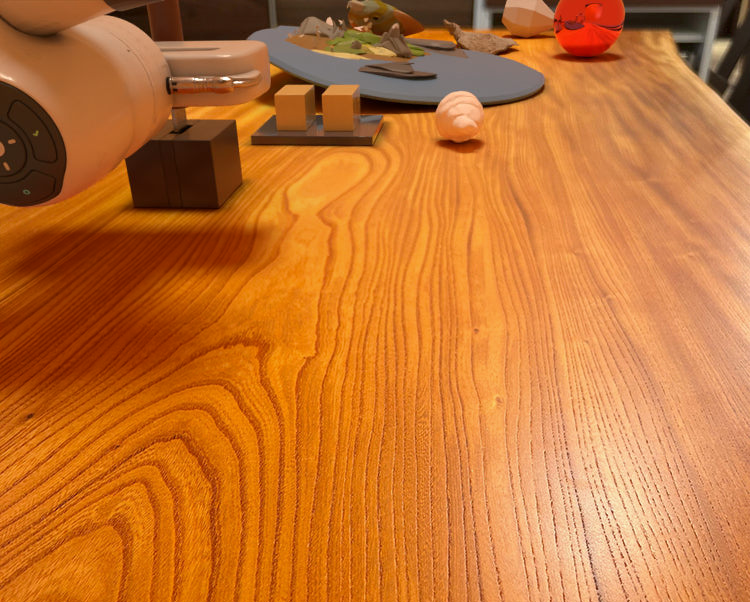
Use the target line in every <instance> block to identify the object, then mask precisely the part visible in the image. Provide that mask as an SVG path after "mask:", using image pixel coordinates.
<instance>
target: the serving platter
mask: <svg viewBox="0 0 750 602" xmlns="http://www.w3.org/2000/svg"><path fill="white" fill-rule="evenodd" d="M346 9H349V5H348V4H347V5H346ZM367 20H368V18H364V21H365V22H366V21H367ZM349 21H350V23H353V21H352V20H349V19H348V22H349ZM338 22H339V23H340V25H341V29H340V26H337V24H336V21H335V20H333V19H332V17H331V16H329V17H327V19H326V20H325V21H324V20H321V19H319V18H317V17H316V16H308V17H306V18H305V19H304V20H303V21H302V22H300V25H299V26H293V25H278V26H277V27H275V28H265V29H259V30H257V31H254V32H253V33H251V34H250V35H248V37H247V38H246V40H254V41H260V42H263V43H265V44H266V45H267V48H268V54H269V63H270V65H272V66H273V67H275V68H277V69H279V70H281V71H283V72H284V73H286V74H288V75H291V76H292V77H295V78H296V79H299V80H302V81H304V82H307V83H308V84H311V85H314V86H317V87H321V88H323V89H327V88H328V87H329V86H330V85H360V98H366V99H371V100H375V101H376V100H377V101H383V102H389V103H391V102H392V103H401V104H412V105H428V106H429V105H430V106H438V105H439V104H440V102H441V101H442V100H443V99H444V98H445V97H446V96H447V95H448V94H450V93H453V92H458V91H466V92H469V93H471V94H473V95H474V96H475V97H476V98H477V99H478V101H479V102H480V103H481V105H482V106H489V105H499V104H507V103H511V102H512V103H513V102H516V101H517V102H518V101H520V100H524V99H526V98H529V97H532V96H534V95H536V93H539V91H540V90H541V89H542V88H543V86H544V85H545V83H546V77H545V75H544V73H543V72H541V71H538V70H537V69H535V68H533V67H530V66H528V65H526V64H525V63H522V62H520V61H517V60H515V59H511V58H508V57H504V56H500V55H497V54H494V55H493V54H488V53H483V52H477V51H471V50H464V49H460V48H459V47H457V43H455V42H454V41H451V40H443V39H429V38H428V39H426V38H415V37H414V38H413V37H405V38H404V36H403V34H402V35H400V31H399V24H398V23H396V24H394V25H393V26H392V27H391V28H390V30H389V33H387V32H384V33H383V35H382V36H379V35H375V34H372V33H369V32H364V33H363V32H359V31H356V30H355V29H358V30H360V31H362V30H361V29H360V28H362V27H364V29H365V31H367V30H368V27H369V28H371V25H372V22H370V23H369V24H368V25H367V26H361V27H354V28H355V29H348V28H347V27H346V23H345V19H342V20H340V19H338ZM350 23H349V24H350ZM370 32H371V31H370Z"/></svg>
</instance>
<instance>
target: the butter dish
mask: <svg viewBox="0 0 750 602" xmlns="http://www.w3.org/2000/svg"><path fill="white" fill-rule="evenodd" d="M315 94H316V93H315V85H314V84H285V85H284V86H283V87H282V88H280V89H279V90H278V91H277V92H275V94H273V97H274V111H275V114H273V115H272V116H270V117H268V118H267V120H266V121H265V122H264V123H263V124H262V125H261V126H259V128H258V129H256V131H254V132H253V133H252V134H251V135H250V141H251V142H250V143H251V145H258V146H259V145H260V146H261V145H262V146H263V145H265V146H266V145H268V146H269V145H270V146H271V145H273V146H275V145H276V146H278V145H279V146H281V145H282V146H293V145H294V146H374V143H375V141H376V139H377V137H378V135H379V133H380V131H381V129H382V127H383V125H384V115H383V114H361V97H360V85H330V86H329V87H328V88H326V89H325V91H324V92H323V93H322V94H321V107H322V108H321V109H322V114H316V113H317V112H316V110H317V109H316V95H315Z"/></svg>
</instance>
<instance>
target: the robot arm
mask: <svg viewBox="0 0 750 602" xmlns="http://www.w3.org/2000/svg"><path fill="white" fill-rule="evenodd" d="M159 1H163V0H0V205H4V206H8V207H15V208H27V209H28V208H43V207H47V206H52V205H53V206H54V205H56V204H60V203H63V202H64V201H67V200H69V199H72V198H74V197H76V196H77V195H79V194H81V193H83V192H84V191H87V190H88V189H90V188H91V187H93V186H94V185H96V184H98V182H100V181H101V180H103V179H104V178H106V177H107V176H108V175H110V173H112V172H113V171H114V170H115V169H116V168H117V167H118V166H119V165H120V164H121V163H122V162H123V161H125V159H126V158H127V157H129V156H131V155H132V154H133V153H135V152H136V151H137V150H138V149H140V148H141V147H142V146H143V145H144V144H146V143H147V142H148V141H149V140H151V139H152V138H153V137H154V136H155V135H157V134H158V133H159V132H160V130H161V129H162V128H163V127H164V125H165V124H166V122H167V120H168V119H170V116H171V110H172V107H188V108H201V107H202V108H205V107H206V108H208V107H209V108H210V107H211V108H212V107H213V108H214V107H215V108H217V107H233V106H240V105H244V104H248V103H250V102H252V101H254V100H256V99H258V98H260V97H261V96H262V95H264V94H266V93H267V92H268V91H269V90H270V88H271V83H272V81H271V80H272V79H271V78H272V77H271V64H270V63H269V54H268V48H267V45H266V44H265V43H263V42H260V41H254V40H247V39H245V40H241V39H240V40H184V41H170V42H154V41H153V40H152V37H150V36H149V35H148V34H147V33H145V31H143V30H142V29H140V27H138V26H137V25H135V24H134V23H131V22H129V21H127V20H125V19H122V18H119V17H117V16H111V15H108V14H110V13H113V12H116V11H118V12H124V11H128V10H131V9H135V8H140V7H143V6H147V5H148V4H151V3H155V2H159Z"/></svg>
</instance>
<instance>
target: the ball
mask: <svg viewBox="0 0 750 602" xmlns="http://www.w3.org/2000/svg"><path fill="white" fill-rule="evenodd" d="M625 22H626V9H625V5H624V2H623V0H559V2H558V3H557V5H556V8H555V11H554V19H553V28H552V30H553V35H554V37H555V40H556V42H557V43H558V45H559V46H560V48H562V49H563V50H564V51H565V52H566V53H568V54H570V55H572V56H576V57H579V58H581V57H582V58H589V57H596V56H597V57H598V56H599V55H601V54H603V53H605V52H606V51H608V50H609V49H610V48H612V46H613V45H614V44H615V43H616V42H617V41H618V39H619V37H620V36H621V34H622V31H623V29H624V26H625Z"/></svg>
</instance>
